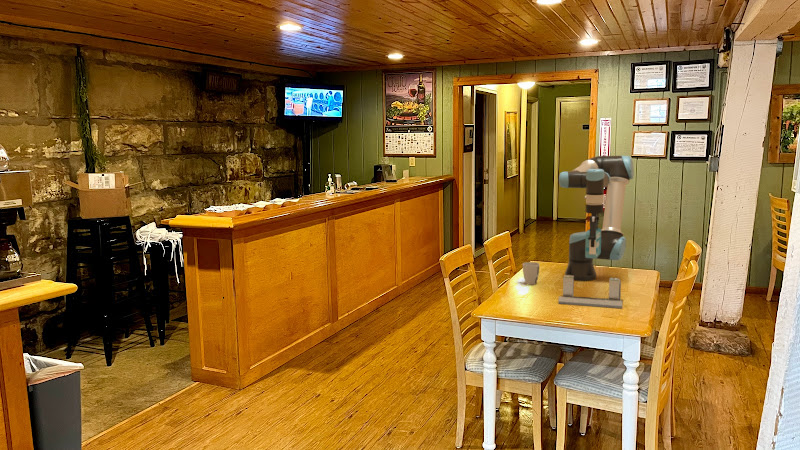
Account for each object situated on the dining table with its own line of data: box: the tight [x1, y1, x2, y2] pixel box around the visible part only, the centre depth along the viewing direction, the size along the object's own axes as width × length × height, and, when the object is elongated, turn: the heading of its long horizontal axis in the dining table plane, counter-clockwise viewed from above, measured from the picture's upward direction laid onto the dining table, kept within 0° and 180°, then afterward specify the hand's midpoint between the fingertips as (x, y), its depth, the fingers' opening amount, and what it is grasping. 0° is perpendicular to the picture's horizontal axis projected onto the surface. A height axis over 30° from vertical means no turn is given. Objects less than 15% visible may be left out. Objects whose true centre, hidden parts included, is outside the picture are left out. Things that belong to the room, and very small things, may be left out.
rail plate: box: [558, 274, 623, 309], centre depth 262 cm, size 10×26×11 cm, turn 69°
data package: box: [585, 228, 601, 260], centre depth 270 cm, size 12×4×12 cm, turn 151°
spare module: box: [619, 280, 622, 300], centre depth 266 cm, size 5×4×8 cm
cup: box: [522, 261, 540, 286], centre depth 297 cm, size 8×8×10 cm
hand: (593, 251), depth 271 cm, fingers closed on data package, 12 cm apart
